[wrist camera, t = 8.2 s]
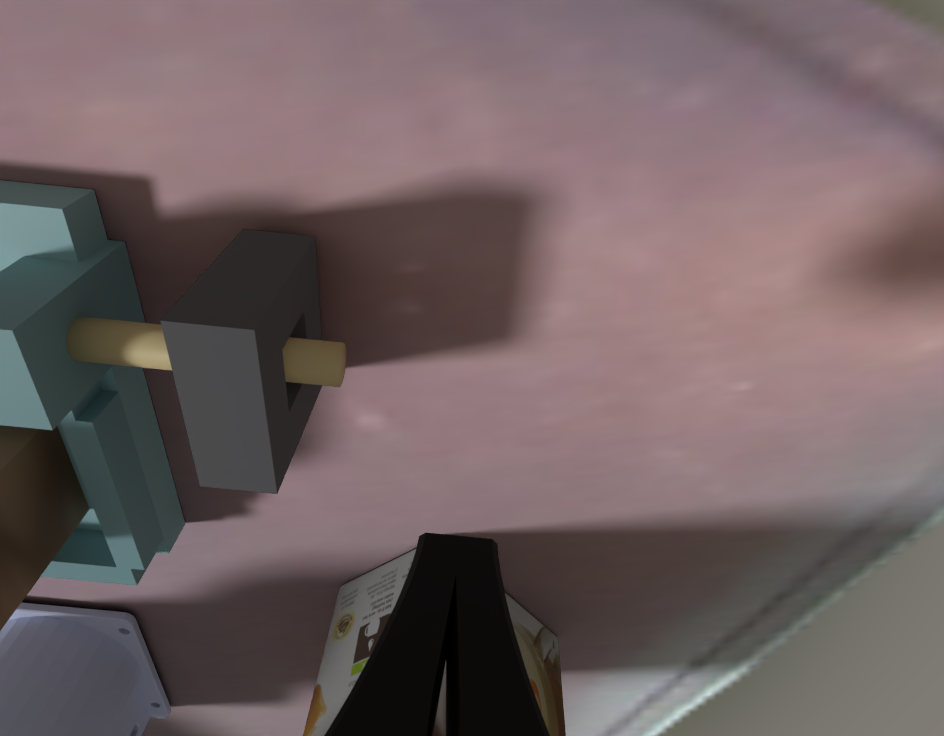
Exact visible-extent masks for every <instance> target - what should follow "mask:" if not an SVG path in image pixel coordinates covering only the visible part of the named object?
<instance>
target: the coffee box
mask: <svg viewBox="0 0 944 736" xmlns="http://www.w3.org/2000/svg"><path fill="white" fill-rule="evenodd" d="M415 552H416V549H414V550H412V551H410V552H408V553H406V554H404V555H402V556H400V557H398V558H396V559H394V560H392V561H390V562H388V563H386V564H384V565H382V566H380V567H378V568H376V569H374V570H372V571H370V572H368V573H366V574H364V575H362V576H360V577H358V578H356V579H354V580H352V581H350V582H348V583H346V584H344V585H342V586H341V587H340V589H339V591H338V595H337V600H336V605H335V609H334V613H333V617H332V621H331V625H330V629H329V634H328V638H327V641H326V645H325V649H324V653H323V657H322V660H321V665H320V670H319V674H318V677H317V681H316V685H315V689H314V694H313V698H312V701H311V705H310V710H309V713H308V717H307V721H306V726H305V730H304V734H303V736H324V735H325V734H326V732H327V730H328V729H329V727H330V726H331V724H332V722H333V721H334V719H335V717H336V716H337V714H338V712H339V711H340V709H341V707H342V706H343V704H344V702H345V701H346V699H347V697H348V696H349V694H350V692H351V690H352V688H353V687H354V685H355V683H356V681H357V679H358V677H359V676H360V674H361V672H362V670H363V668H364V666H365V665H366V663H367V661H368V659H369V657H370V655H371V654H372V652H373V650H374V648H375V646H376V644H377V642H378V640H379V638H380V636H381V634H382V632H383V630H384V628H385V625H386V623H387V621H388V619H389V617H390V615H391V613H392V611H393V609H394V606H395V604H396V602H397V600H398V597H399V595H400V593H401V590H402V588H403V585H404V583H405V581H406V578H407V575H408V573H409V570H410V567H411V564H412V561H413V558H414V555H415ZM505 596H506V600H507V605H508V609H509V613H510V617H511V621H512V624H513V628H514V631H515V635H516V638H517V641H518V645H519V648H520V651H521V655H522V658H523V661H524V665H525V668H526V671H527V674H528V677H529V680H530V683H531V686H532V689H533V691H534V694H535V697H536V700H537V702H538V705H539V708H540V711H541V713H542V716H543V719H544V721H545V724H546V727H547V729H548V732H549V734H550V736H566V734H565V721H564V709H563V697H562V684H561V669H560V657H559V645H558V638H557V637H556V636H555V635H554V634H553V633H552V632H551V631H550V630H548V629H547V628H546V627H545V626H544V625H542V624H541V623H540V622H539V621H537V620H536V619H535V618H534V617H533V616H532V615H531V614H529V613H528V612H527V611H526V610H525V609H524V608H522V607H521V606H520V605H519V604H518V603H517V602H515V601H514V600H513V599H512V598H511V597H510V596H508V595H507V594H506V593H505ZM433 736H446V663H445V669H444V674H443V680H442V686H441V691H440V697H439V703H438V709H437V714H436V720H435V726H434V731H433Z"/></svg>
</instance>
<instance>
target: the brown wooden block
mask: <svg viewBox="0 0 944 736" xmlns="http://www.w3.org/2000/svg"><path fill="white" fill-rule="evenodd" d="M88 511H89V506H88V504H87V501H86V498H85V496H84V493H83V491H82V488H81V486H80V483H79V480H78V478H77V475H76V473H75V470H74V468H73V465H72V462H71V460H70V457H69V455H68V452H67V450H66V447H65V445H64V442H63V439H62V437H61V434H60V432H59V429H58V427H57V426H56V427H55V428H54V429H53V430H45V429H35V428H25V427H14V426H4V425H0V631H1V629H2V628H3V627H4V625H5V624H6V623H7V621H8V620H9V619H10V617H11V616H12V614H13V613H14V612H15V610H16V609H17V608H18V606H19V605H20V604H21V602H22V601H23V599H24V598H25V597H26V595H27V594H28V593H29V591H30V590H31V589H32V587H33V586H34V584H35V583H36V582H37V580H38V579H39V578H40V576H41V575H42V574H43V572H44V571H45V569H46V568H47V567H48V565H49V564H50V563H51V561H52V560H53V558H54V557H55V556H56V554H57V553H58V552H59V550H60V549H61V548H62V546H63V545H64V543H65V542H66V541H67V539H68V538H69V537H70V535H71V534H72V533H73V531H74V530H75V528H76V527H77V526H78V524H79V523H80V522H81V520H82V519H83V518H84V516H85V515H86V513H87V512H88Z"/></svg>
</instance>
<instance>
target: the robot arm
mask: <svg viewBox="0 0 944 736" xmlns="http://www.w3.org/2000/svg"><path fill="white" fill-rule="evenodd" d="M445 663H446V736H550V734H549V732H548V729H547V727H546V724H545V721H544V719H543V716H542V713H541V711H540V708H539V705H538V702H537V700H536V697H535V694H534V691H533V689H532V686H531V683H530V680H529V677H528V674H527V671H526V668H525V665H524V661H523V658H522V655H521V651H520V648H519V645H518V641H517V638H516V635H515V631H514V628H513V624H512V621H511V617H510V613H509V609H508V605H507V600H506V596H505V592H504V587H503V582H502V577H501V571H500V565H499V558H498V547H497V543H496V542H495V541H493V540H492V539H485V538H475V537H465V536H454V535H444V534H434V533H424V534H423V535H421V536H419V540H418V544H417V548H416V552H415V555H414V558H413V561H412V564H411V567H410V570H409V573H408V575H407V578H406V581H405V583H404V585H403V588H402V590H401V593H400V595H399V597H398V600H397V602H396V604H395V606H394V609H393V611H392V613H391V615H390V617H389V619H388V621H387V623H386V625H385V628H384V630H383V632H382V634H381V636H380V638H379V640H378V642H377V644H376V646H375V648H374V650H373V652H372V654H371V655H370V657H369V659H368V661H367V663H366V665H365V666H364V668H363V670H362V672H361V674H360V676H359V677H358V679H357V681H356V683H355V685H354V687H353V688H352V690H351V692H350V694H349V696H348V697H347V699H346V701H345V702H344V704H343V706H342V707H341V709H340V711H339V712H338V714H337V716H336V717H335V719H334V721H333V722H332V724H331V726H330V727H329V729H328V730H327V732H326V734H325V735H324V736H433V731H434V726H435V720H436V714H437V709H438V703H439V697H440V691H441V686H442V680H443V674H444V669H445ZM170 712H171V707H170V704H169V702H168V699H167V697H166V694H165V692H164V689H163V687H162V684H161V682H160V679H159V677H158V674H157V672H156V669H155V667H154V664H153V662H152V659H151V656H150V654H149V651H148V649H147V646H146V644H145V641H144V639H143V636H142V634H141V631H140V629H139V626H138V624H137V621H136V619H135V617H134V616H133V615H131V614H129V613H126V612H117V611H107V610H96V609H86V608H75V607H64V606H54V605H43V604H33V603H22V602H21V604H20V605H19V606H18V608H17V609H16V610H15V612H14V613H13V614H12V616H11V617H10V619H9V620H8V621H7V623H6V624H5V625H4V627H3V628H2V629H1V631H0V736H142V734H143V732H144V730H145V728H146V725H147V723H148V721H149V719H150V717H152V718H166V717H168V716H169V714H170Z"/></svg>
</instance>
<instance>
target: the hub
mask: <svg viewBox="0 0 944 736" xmlns="http://www.w3.org/2000/svg"><path fill="white" fill-rule="evenodd" d="M160 322H161V326H162V330H163V335H164V339H165V343H166V347H167V351H168V355H169V360H170V364H171V368H172V372H173V376H174V380H175V385H176V389H177V393H178V397H179V401H180V405H181V410H182V414H183V418H184V422H185V426H186V430H187V435H188V439H189V443H190V447H191V451H192V455H193V460H194V464H195V468H196V472H197V476H198V480H199V485H200V487H211V488H221V489H231V490H242V491H252V492H262V493H272V494H277V493H278V491H279V488H280V486H281V483H282V481H283V479H284V476H285V474H286V471H287V469H288V467H289V464H290V462H291V459H292V457H293V455H294V452H295V450H296V447H297V445H298V443H299V440H300V438H301V435H302V433H303V431H304V428H305V426H306V423H307V421H308V419H309V416H310V414H311V411H312V409H313V407H314V404H315V402H316V399H317V397H318V394H319V392H320V390H321V387H322V385H314V384H304V383H293V382H286V380H285V371H284V362H283V352H282V349H283V348H284V346H285V344H286V342H287V340H288V339H289V337H292V338H302V339H312V340H322V334H321V319H320V303H319V288H318V272H317V257H316V241H315V236H308V235H298V234H288V233H278V232H268V231H258V230H248V229H243V230H242V231H241V232H240V233H239V235H238V236H237V237H236V238H235V239H234V240H233V241H232V242H231V243H230V244H229V246H228V247H227V248H226V249H225V250H224V251H223V252H222V253H221V254H220V255H219V257H218V258H217V259H216V260H215V261H214V262H213V263H212V264H211V265H210V266H209V268H208V269H207V270H206V271H205V272H204V273H203V274H202V275H201V276H200V277H199V279H198V280H197V281H196V282H195V283H194V284H193V285H192V286H191V287H190V288H189V290H188V291H187V292H186V293H185V294H184V295H183V296H182V297H181V298H180V299H179V301H178V302H177V303H176V304H175V305H174V306H173V307H172V308H171V309H170V310H169V312H168V313H167V314H166V315H165V316H164V317H163V318H162V319H161V320H160Z"/></svg>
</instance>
